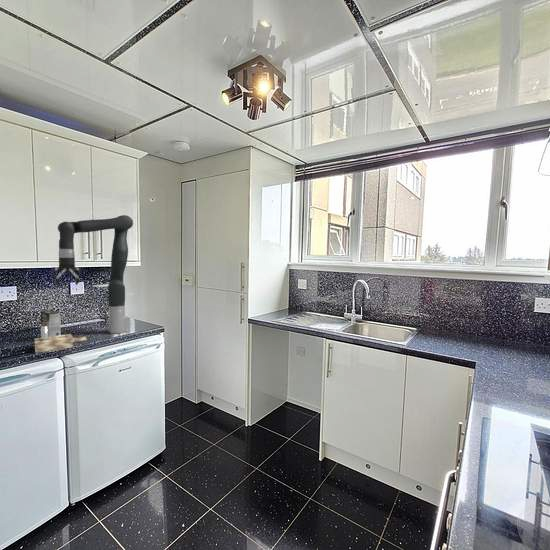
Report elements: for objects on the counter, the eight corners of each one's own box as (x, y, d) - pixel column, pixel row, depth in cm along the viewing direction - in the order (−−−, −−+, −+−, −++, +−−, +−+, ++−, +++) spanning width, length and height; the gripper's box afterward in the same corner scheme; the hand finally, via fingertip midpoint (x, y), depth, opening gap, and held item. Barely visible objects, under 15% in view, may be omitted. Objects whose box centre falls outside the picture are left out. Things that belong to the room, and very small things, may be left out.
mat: (85, 337, 181) (85, 336, 181) (87, 340, 176) (87, 339, 176) (69, 339, 176) (69, 338, 176) (70, 342, 170) (70, 341, 170)
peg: (48, 347, 161) (47, 325, 160) (48, 348, 158) (48, 326, 158) (41, 348, 159) (40, 326, 158) (41, 350, 157) (40, 327, 156)
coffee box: (40, 338, 176) (39, 311, 175) (53, 336, 182) (52, 309, 181) (49, 341, 172) (48, 313, 171) (61, 338, 178) (60, 311, 177)
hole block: (70, 342, 170) (70, 333, 170) (73, 346, 162) (73, 337, 162) (34, 347, 160) (34, 338, 159) (35, 352, 152) (35, 343, 152)
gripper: (80, 256, 180) (81, 283, 181) (50, 256, 171) (51, 285, 172) (82, 257, 175) (83, 284, 176) (51, 256, 165) (52, 286, 167)
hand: (67, 284), depth 174 cm, fingers open, 8 cm apart
